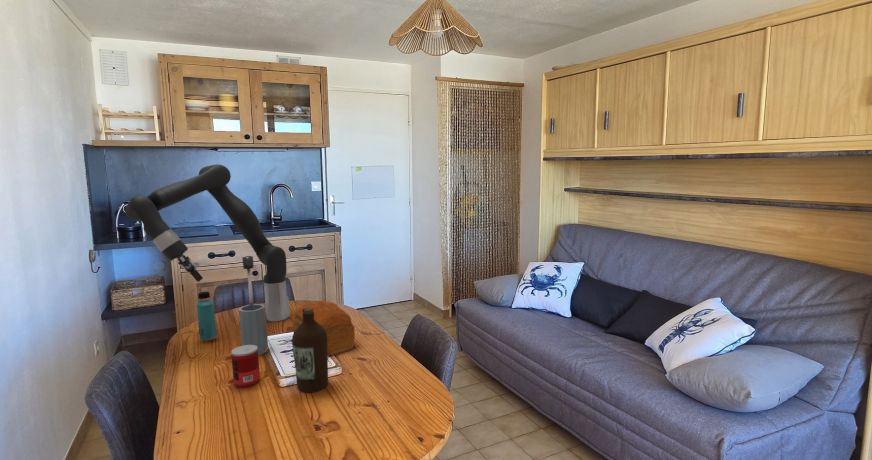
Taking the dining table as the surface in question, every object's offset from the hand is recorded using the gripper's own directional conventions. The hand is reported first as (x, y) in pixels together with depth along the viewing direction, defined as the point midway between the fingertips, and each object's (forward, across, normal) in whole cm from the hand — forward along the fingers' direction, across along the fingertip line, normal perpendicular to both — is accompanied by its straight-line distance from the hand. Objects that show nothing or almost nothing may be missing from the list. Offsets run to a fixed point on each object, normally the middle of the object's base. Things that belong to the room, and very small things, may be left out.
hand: (200, 280), depth 173 cm
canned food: (+35, -26, +9) cm, 45 cm away
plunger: (+23, -4, -5) cm, 24 cm away
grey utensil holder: (+33, -2, +2) cm, 33 cm away
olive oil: (+47, -39, -5) cm, 61 cm away
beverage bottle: (+21, +19, +12) cm, 31 cm away
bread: (+47, -6, -19) cm, 51 cm away
